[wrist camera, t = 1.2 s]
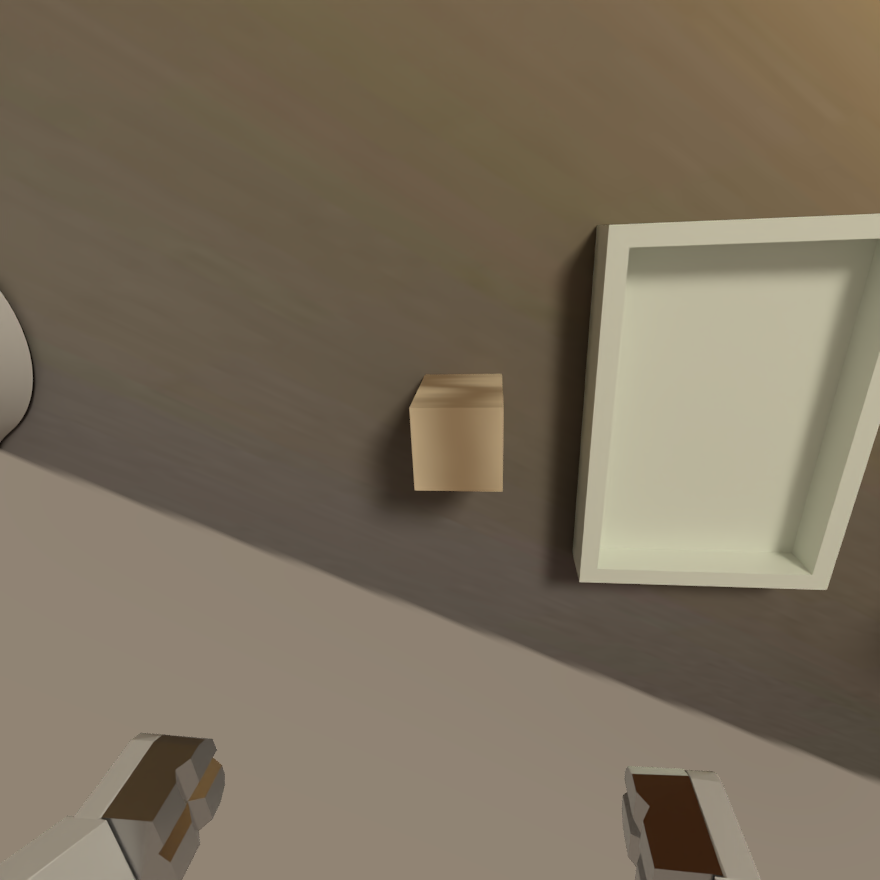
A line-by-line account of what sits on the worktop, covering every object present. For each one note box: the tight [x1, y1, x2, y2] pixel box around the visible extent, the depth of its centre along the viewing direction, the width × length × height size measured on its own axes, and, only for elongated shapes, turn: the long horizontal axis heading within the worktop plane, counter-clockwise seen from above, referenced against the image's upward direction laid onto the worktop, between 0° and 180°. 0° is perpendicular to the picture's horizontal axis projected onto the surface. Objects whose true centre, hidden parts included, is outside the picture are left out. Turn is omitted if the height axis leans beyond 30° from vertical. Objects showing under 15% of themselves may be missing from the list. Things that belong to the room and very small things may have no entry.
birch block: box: [409, 374, 503, 492], centre depth 28 cm, size 4×4×6 cm
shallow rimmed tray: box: [572, 214, 880, 590], centre depth 27 cm, size 14×20×3 cm
